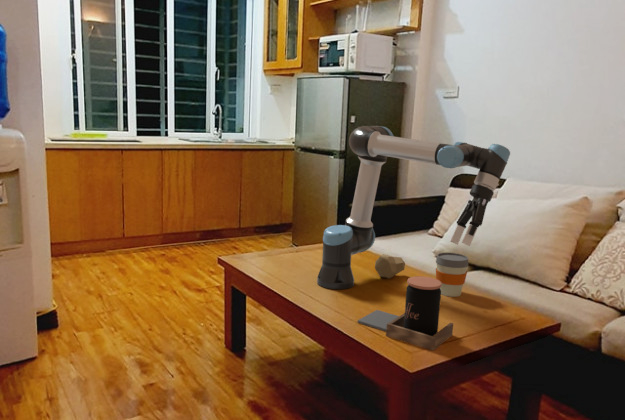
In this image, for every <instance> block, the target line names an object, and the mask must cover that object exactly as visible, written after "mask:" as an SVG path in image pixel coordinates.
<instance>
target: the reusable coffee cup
mask: <svg viewBox="0 0 625 420" xmlns="http://www.w3.org/2000/svg"><path fill="white" fill-rule="evenodd" d="M435 263H436V268H435V279H437V280H439V281H440V282H441V283H442V285H441V287H440V290H441V296H444V297H456V298H457V297H460V296H461V295H462V290H463V287H464V284H465V282H466V279H467V275H468V271H467V269H468V267H469V256H467V255H465V254H460V253H456V252H439V253H437V254H436V259H435Z"/></svg>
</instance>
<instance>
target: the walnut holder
mask: <svg viewBox="0 0 625 420" xmlns="http://www.w3.org/2000/svg"><path fill="white" fill-rule="evenodd" d="M398 316H399V317H397V318H396V319H394V320H393V321H391V322H389V323H388V324H387V329H386V331H385V333H386V334H385V336H386V337H389V338H391V339H395V340H398V341H401V342H405V343H408V344H411V345H414V346H418V347H420V348H422V349H426V350H430V351H435V350H436V349H437V348H439V346H441V345H442V344H443V343H445V342H446V341H447V340H448V339H449V338H450V337H452V336H453V333H454V332H453V330H454V323H453V322H449V323H448V324H447V325H445V326H444V327H442V329H440V330H438V332H437V333H436V334H435V335H433V336H430V335H427V334H423V333H420V332H417V331H413V330H410V329H407V328H404V317H405V312H404V313H403V314H401V315H398Z"/></svg>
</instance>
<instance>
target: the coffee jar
mask: <svg viewBox="0 0 625 420" xmlns="http://www.w3.org/2000/svg"><path fill="white" fill-rule="evenodd" d="M406 282H407V286H406V291H405V292H406V293H405V294H406V295H405V306H404V313H405V317H404V327H403V328H407V329H410V330H413V331H417V332H420V333H423V334H427V335H430V336H433V335H435V334H436V333H437V332H439V321H440V320H439V319H440V310H441V308H440V307H441V297H442V295H441V290H440V287H441V285H442V283H441V282H440V281H439V280H437V279H436V278H434V277H431V276H420V275H419V276H411V277H408V279H407V281H406Z"/></svg>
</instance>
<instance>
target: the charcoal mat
mask: <svg viewBox="0 0 625 420" xmlns="http://www.w3.org/2000/svg"><path fill="white" fill-rule="evenodd" d="M399 316H400V315H396V314H393V313H389V312H386V311H382V310H379V309H376V310H374V311H373V312H370V313H369V314H367V315H365V316H363V317H361V318H360V319H358V320H357V321H356V322H357V324H361V325H364V326H367V327H369V328H370V327H371V328H373V329H377V330H380V331H383V332H386V329H387V324H388V323H389V322H391V321H393V320H394V319H396V318H397V317H399Z"/></svg>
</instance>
